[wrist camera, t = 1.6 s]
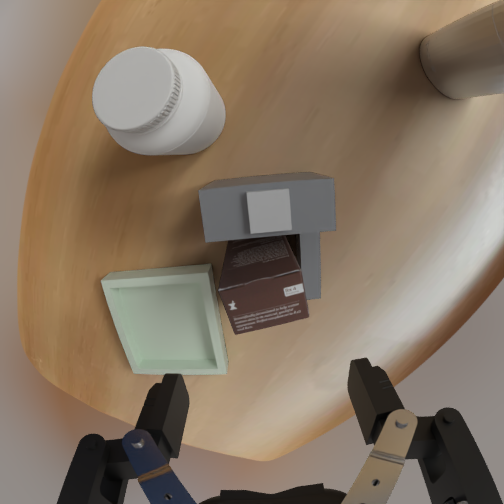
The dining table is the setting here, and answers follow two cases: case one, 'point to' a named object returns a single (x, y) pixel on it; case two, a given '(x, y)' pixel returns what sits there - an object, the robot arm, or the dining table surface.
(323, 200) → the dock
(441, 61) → the robot arm
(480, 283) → the dining table surface
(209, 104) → the pill bottle
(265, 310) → the box
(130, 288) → the tray
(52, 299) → the dining table surface
